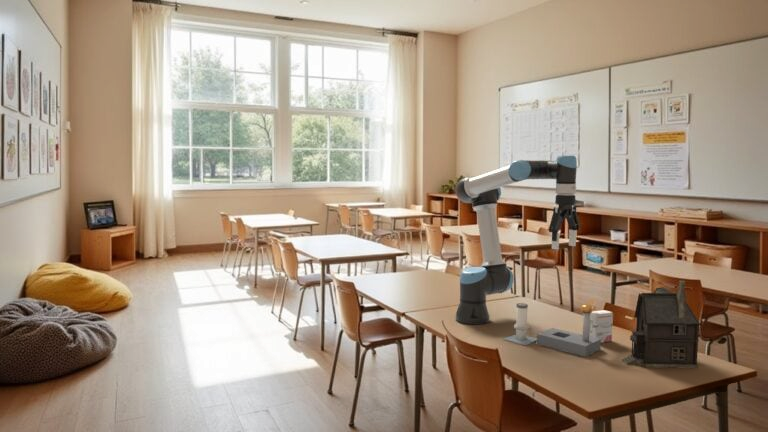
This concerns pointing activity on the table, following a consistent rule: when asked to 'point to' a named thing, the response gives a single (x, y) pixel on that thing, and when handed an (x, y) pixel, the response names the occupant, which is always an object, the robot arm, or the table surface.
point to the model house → (664, 331)
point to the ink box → (601, 325)
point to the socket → (571, 339)
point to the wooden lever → (589, 306)
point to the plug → (521, 322)
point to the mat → (525, 342)
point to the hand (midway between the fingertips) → (563, 247)
